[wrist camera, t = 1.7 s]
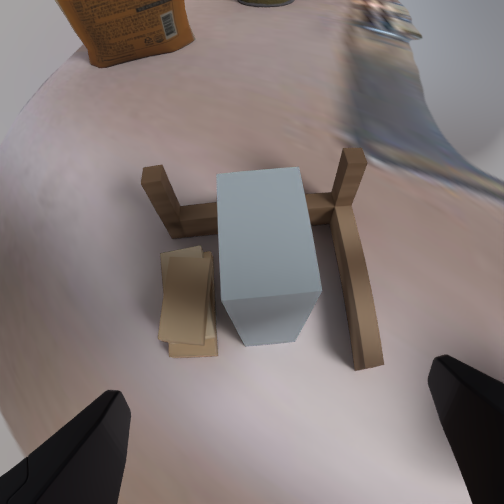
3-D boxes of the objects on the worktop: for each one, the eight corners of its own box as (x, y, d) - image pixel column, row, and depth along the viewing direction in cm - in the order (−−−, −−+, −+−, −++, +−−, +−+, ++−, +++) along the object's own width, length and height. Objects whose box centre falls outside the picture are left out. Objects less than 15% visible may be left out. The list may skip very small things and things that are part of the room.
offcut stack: (221, 355, 20) (214, 350, 17) (169, 358, 20) (153, 352, 17) (216, 256, 23) (209, 237, 20) (168, 261, 23) (155, 242, 20)
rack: (371, 367, 19) (417, 355, 12) (173, 387, 19) (130, 384, 13) (341, 209, 24) (361, 147, 17) (172, 224, 24) (143, 167, 18)
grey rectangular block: (294, 341, 20) (322, 290, 10) (245, 346, 20) (221, 300, 10) (286, 270, 22) (298, 166, 12) (240, 274, 22) (216, 174, 12)
